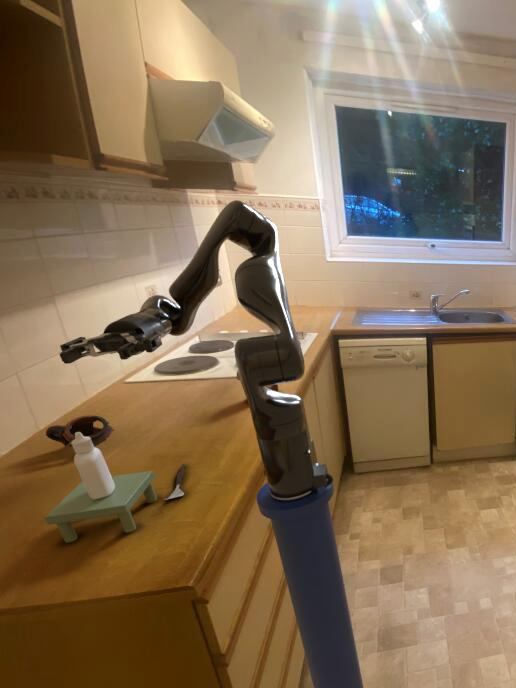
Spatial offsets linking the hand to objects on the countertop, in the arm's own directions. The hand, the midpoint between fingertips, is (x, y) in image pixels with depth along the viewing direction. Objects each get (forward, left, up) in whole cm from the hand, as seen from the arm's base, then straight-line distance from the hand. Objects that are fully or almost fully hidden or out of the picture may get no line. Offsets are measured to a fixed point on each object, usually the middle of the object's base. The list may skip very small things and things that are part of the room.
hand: (93, 356), depth 79 cm
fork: (-7, +2, -28) cm, 29 cm away
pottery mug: (+20, -22, -28) cm, 41 cm away
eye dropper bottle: (0, +11, -22) cm, 25 cm away
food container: (-13, -42, -28) cm, 52 cm away
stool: (0, +11, -28) cm, 30 cm away
